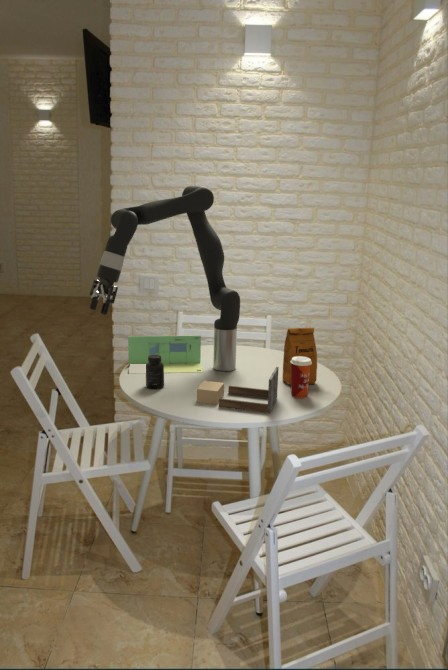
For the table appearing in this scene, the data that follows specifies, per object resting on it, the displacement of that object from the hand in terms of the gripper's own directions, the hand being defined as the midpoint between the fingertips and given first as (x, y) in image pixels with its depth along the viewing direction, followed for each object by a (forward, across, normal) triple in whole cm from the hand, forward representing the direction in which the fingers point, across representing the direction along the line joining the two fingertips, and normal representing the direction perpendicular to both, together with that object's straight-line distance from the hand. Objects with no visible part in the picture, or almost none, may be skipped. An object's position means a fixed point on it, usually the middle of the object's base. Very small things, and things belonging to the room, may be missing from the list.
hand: (97, 311), depth 206 cm
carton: (+18, -25, -39) cm, 50 cm away
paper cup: (+9, -41, -66) cm, 78 cm away
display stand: (+17, +13, -44) cm, 49 cm away
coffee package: (+6, -30, -75) cm, 81 cm away
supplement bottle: (+22, -4, -30) cm, 37 cm away
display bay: (+15, -36, -47) cm, 61 cm away
